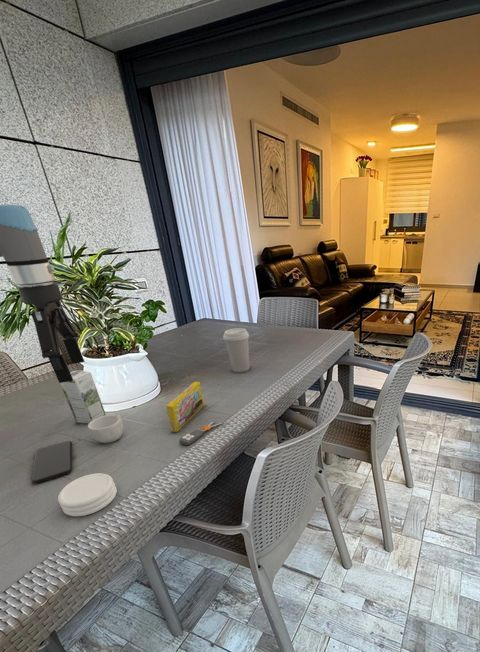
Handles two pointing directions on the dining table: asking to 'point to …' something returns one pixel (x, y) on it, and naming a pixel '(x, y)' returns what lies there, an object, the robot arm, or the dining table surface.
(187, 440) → the key chain
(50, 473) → the smartphone
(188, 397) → the candy box
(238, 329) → the coffee cup
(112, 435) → the teacup
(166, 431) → the dining table surface
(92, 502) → the coaster
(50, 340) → the robot arm
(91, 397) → the syrup box
